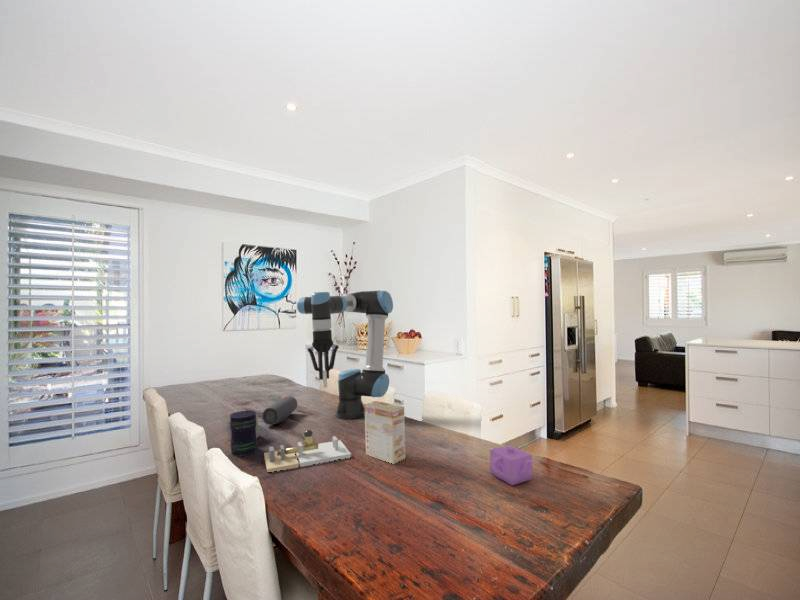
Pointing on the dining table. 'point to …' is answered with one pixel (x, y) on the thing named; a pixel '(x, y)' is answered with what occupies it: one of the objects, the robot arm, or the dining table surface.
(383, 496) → the dining table surface
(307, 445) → the bolt
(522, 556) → the dining table surface
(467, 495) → the dining table surface
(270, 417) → the bluetooth speaker
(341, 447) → the door lock
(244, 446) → the dark blue barrel
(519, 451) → the purple knobbed block
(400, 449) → the coffeecake box
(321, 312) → the robot arm
